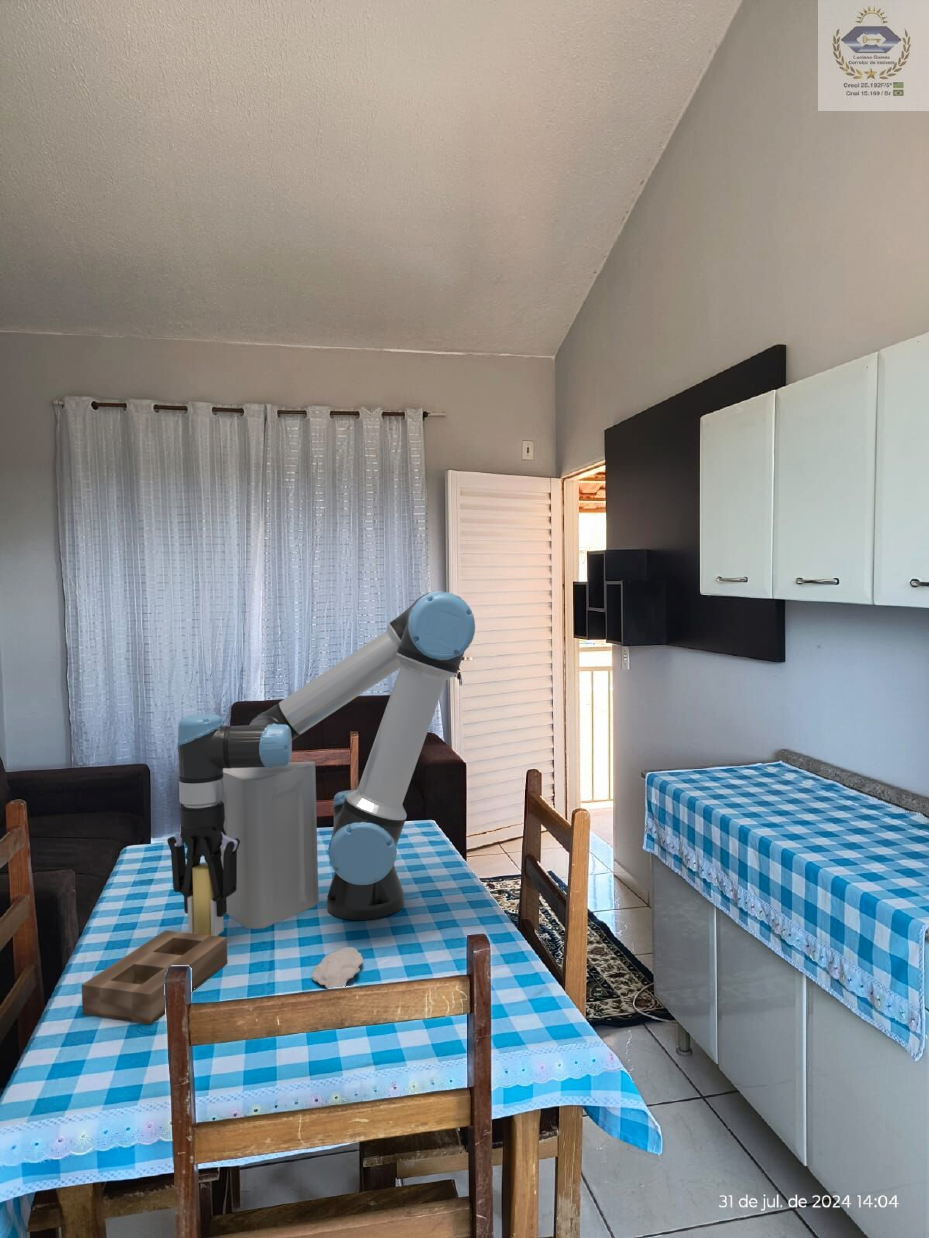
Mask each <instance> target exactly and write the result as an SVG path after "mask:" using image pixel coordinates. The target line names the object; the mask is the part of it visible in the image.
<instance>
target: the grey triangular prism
mask: <svg viewBox="0 0 929 1238" xmlns="http://www.w3.org/2000/svg"><path fill="white" fill-rule="evenodd" d="M316 779H317V777H316V762H315V761H301V762H300V761H299V762H298V761H297V762H296V761H295V762H294V761H290V762H289V764H287V765H285V766H276V767H272V768H268V767H256V768H229V769H227V768H224V769H223V782H224V798H223V799H222V800H221V801H223V803H224V810H225V821H224V830H225V832H226V836H228V837H230V838H232V839H235V838H238V839H239V840H240V844H239V847H238V849H237V890H236V892H234V893H233V894H231V895H230V896H228V897H226V901H227V912H226V914H225V915H228V916H229V917H230V918H232V919H233V920H235V921H236V922H237V923H239V924H240V925H242V926H243V927H244V928H246V929H249V930H254V929H255V930H261V929H265V928H268V927H270V926H273V925H275V924H277V923H279V922H282V921H284V920H286V919H289V918H291V917H294V916H296V915H298V914H301V913H303V912H305V911H307V910H310V909H312V908H314V907H316V906H317V904H318V902H319V870H318V869H319V867H318V866H319V865H318V864H319V863H318V861H319V860H318V857H319V856H318V826H317V824H318V822H317V821H318V820H317V790H316V789H317V788H316V787H317V785H316V782H317V781H316ZM220 848H221V853H222V856H221V861H222V866H223V855H224V850H223V843H222V845H221V846H220Z"/></svg>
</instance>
